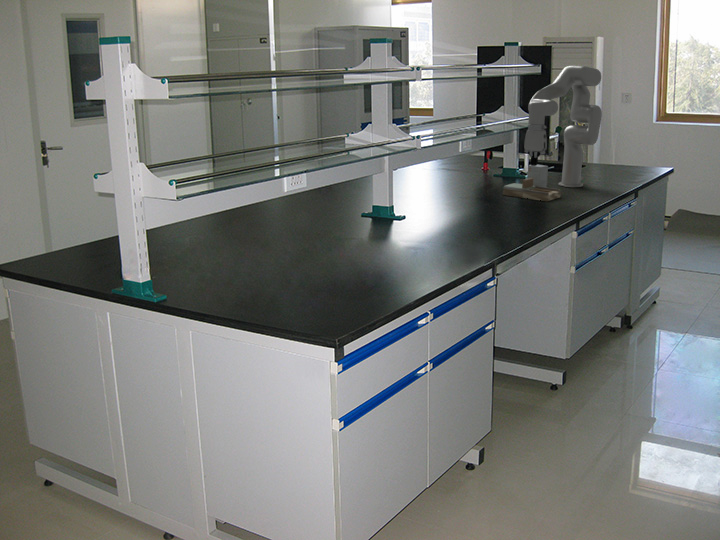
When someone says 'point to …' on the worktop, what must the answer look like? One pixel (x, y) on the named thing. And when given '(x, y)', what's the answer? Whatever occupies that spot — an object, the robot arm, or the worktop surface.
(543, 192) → the sliding lid wooden box
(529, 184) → the lid
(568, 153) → the robot arm
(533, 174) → the small box
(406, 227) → the worktop surface
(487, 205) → the worktop surface
